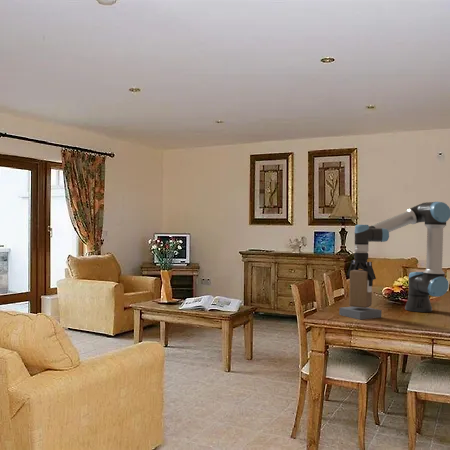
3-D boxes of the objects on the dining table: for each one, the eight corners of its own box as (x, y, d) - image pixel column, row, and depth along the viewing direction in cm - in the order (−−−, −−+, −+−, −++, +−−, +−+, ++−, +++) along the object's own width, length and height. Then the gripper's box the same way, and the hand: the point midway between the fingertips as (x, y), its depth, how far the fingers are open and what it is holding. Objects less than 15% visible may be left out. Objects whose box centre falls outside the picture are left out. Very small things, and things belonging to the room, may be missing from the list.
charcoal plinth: (360, 312, 301) (360, 305, 301) (381, 317, 287) (381, 310, 287) (339, 314, 293) (339, 307, 293) (359, 319, 279) (359, 312, 279)
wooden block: (372, 306, 292) (372, 270, 291) (366, 308, 283) (367, 271, 283) (354, 304, 297) (355, 269, 297) (348, 306, 288) (349, 270, 288)
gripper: (341, 251, 299) (340, 288, 299) (372, 253, 277) (372, 293, 277) (350, 251, 303) (350, 287, 303) (383, 253, 281) (382, 293, 281)
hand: (360, 290), depth 290 cm, fingers closed on wooden block, 13 cm apart
